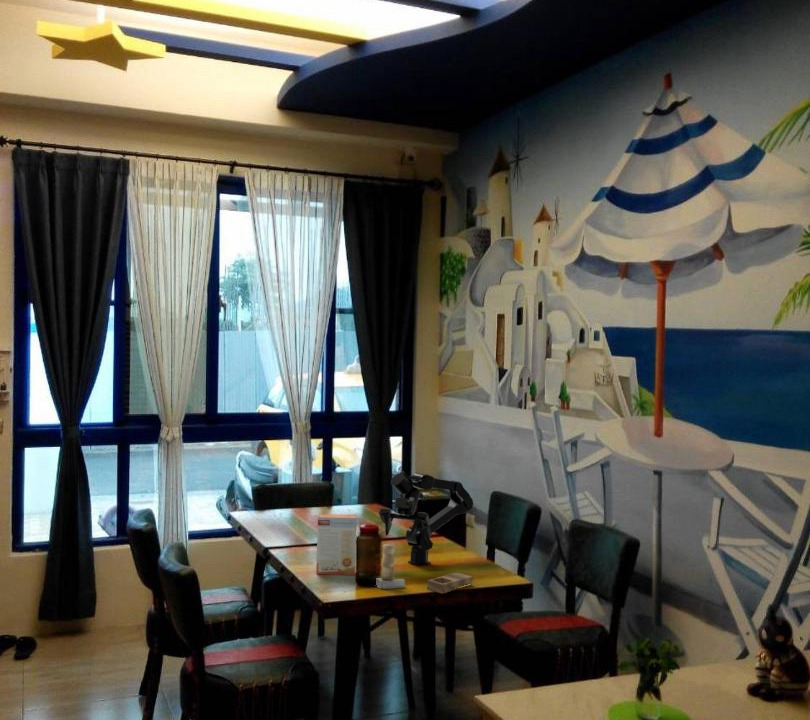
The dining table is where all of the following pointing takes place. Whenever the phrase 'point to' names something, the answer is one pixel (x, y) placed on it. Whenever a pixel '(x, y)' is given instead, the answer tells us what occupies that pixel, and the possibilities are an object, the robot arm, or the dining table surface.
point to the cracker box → (336, 544)
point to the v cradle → (390, 583)
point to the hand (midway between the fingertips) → (398, 536)
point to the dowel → (388, 562)
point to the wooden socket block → (448, 582)
